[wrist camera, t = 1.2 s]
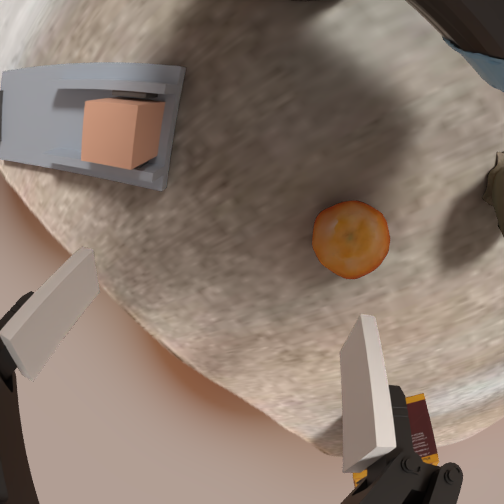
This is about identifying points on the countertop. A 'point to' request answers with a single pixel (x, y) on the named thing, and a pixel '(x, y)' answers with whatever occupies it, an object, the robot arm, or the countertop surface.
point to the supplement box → (417, 433)
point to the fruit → (351, 239)
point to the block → (121, 131)
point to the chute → (72, 113)
